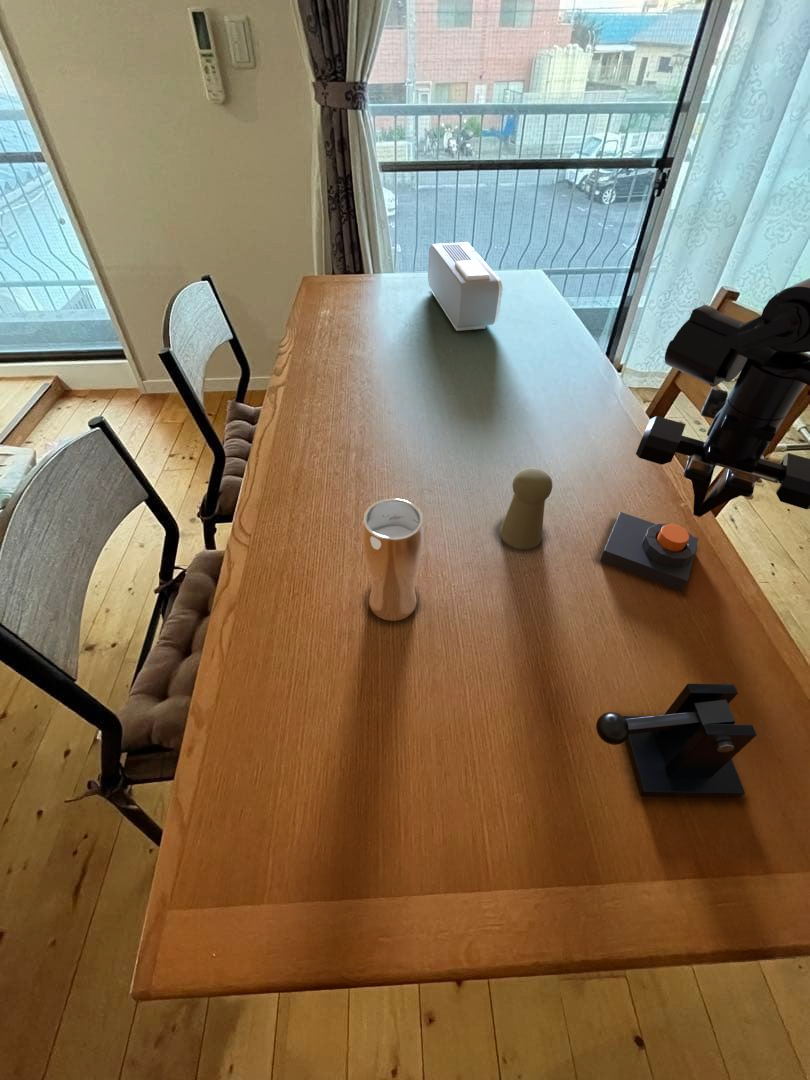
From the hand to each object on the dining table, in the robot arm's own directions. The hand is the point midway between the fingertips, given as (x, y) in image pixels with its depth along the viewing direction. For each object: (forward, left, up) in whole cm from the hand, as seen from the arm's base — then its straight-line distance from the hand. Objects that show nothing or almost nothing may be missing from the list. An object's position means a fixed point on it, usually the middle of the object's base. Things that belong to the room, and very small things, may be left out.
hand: (696, 514), depth 69 cm
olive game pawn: (+20, +4, -11) cm, 23 cm away
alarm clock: (+60, -61, -11) cm, 86 cm away
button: (+1, -1, -7) cm, 7 cm away
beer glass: (+30, +24, -11) cm, 40 cm away
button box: (+3, -1, -11) cm, 11 cm away
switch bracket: (-6, +27, -11) cm, 29 cm away
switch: (-3, +28, -4) cm, 29 cm away
